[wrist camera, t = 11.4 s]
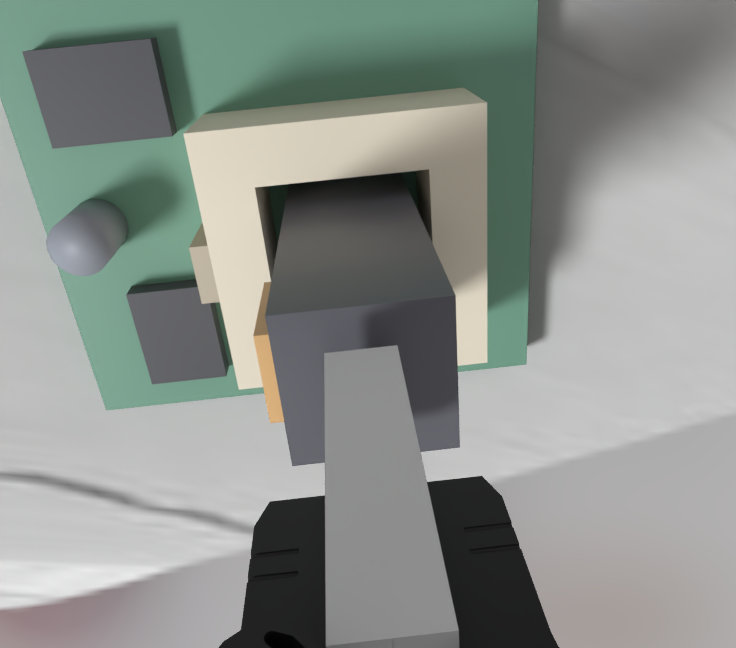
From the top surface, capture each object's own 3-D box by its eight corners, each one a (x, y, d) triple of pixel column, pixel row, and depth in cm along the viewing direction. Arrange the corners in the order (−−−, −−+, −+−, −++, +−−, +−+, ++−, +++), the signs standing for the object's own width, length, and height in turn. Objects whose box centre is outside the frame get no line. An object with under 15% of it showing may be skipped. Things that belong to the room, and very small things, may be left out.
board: (114, 394, 28) (78, 464, 24) (-20, -16, 21) (-107, -19, 16) (518, 350, 28) (552, 411, 24) (529, -69, 21) (580, -86, 17)
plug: (292, 282, 25) (273, 467, 15) (277, 181, 23) (243, 318, 13) (405, 270, 25) (459, 447, 15) (399, 169, 23) (455, 295, 13)
